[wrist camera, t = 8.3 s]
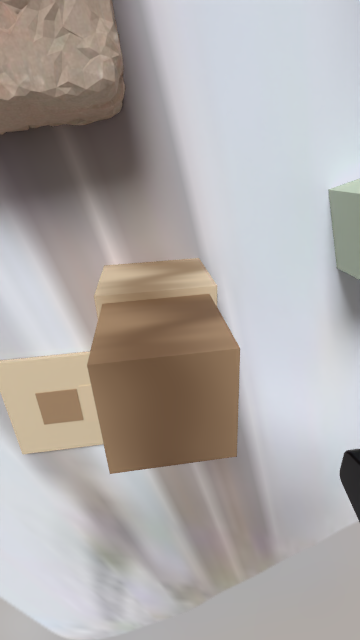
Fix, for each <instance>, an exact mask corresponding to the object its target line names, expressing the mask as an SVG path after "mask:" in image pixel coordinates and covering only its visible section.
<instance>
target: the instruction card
mask: <svg viewBox="0 0 360 640" xmlns="http://www.w3.org/2000/svg"><path fill="white" fill-rule="evenodd" d="M89 355H90V352H81V353H71V354H61V355H51V356H41V357H31V358H21V359H11V360H1V361H0V392H1V395H2V398H3V401H4V403H5V406H6V409H7V412H8V415H9V417H10V420H11V423H12V426H13V428H14V431H15V434H16V437H17V440H18V442H19V445H20V448H21V451H22V454H29V453H37V452H45V451H53V450H61V449H69V448H77V447H85V446H93V445H101V444H104V443H103V439H102V434H101V429H100V424H99V420H98V415H97V410H96V406H95V401H94V396H93V392H92V387H91V382H90V377H89V373H88V368H87V363H88V359H89Z"/></svg>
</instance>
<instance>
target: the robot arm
mask: <svg viewBox="0 0 360 640" xmlns="http://www.w3.org/2000/svg"><path fill="white" fill-rule="evenodd" d="M340 479H341V482H342V484H343V486H344V489H345V491H346V493H347V495H348V497H349V500H350V502H351V504H352V506H353V508H354V511H355V513H356V515H357V517H358V520H359V522H360V449H353V450H347V451H346V452H345V453H344V456H343V460H342V464H341V468H340Z"/></svg>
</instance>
